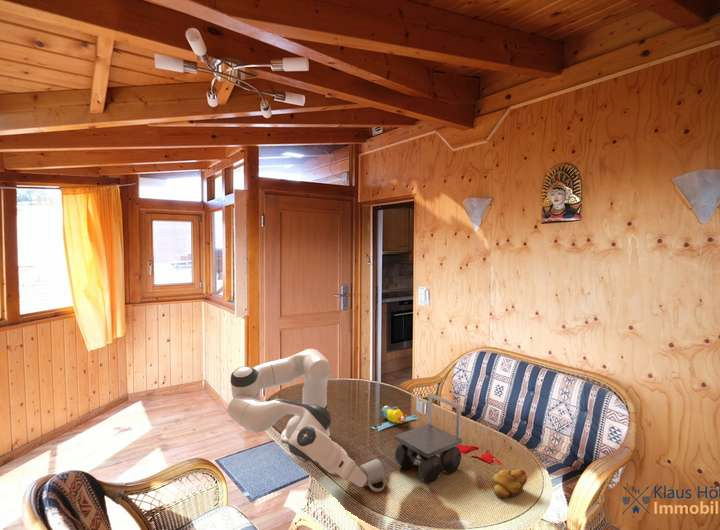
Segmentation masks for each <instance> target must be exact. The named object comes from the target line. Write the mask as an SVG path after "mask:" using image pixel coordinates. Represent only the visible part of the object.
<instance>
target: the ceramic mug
mask: <svg viewBox="0 0 720 530" xmlns="http://www.w3.org/2000/svg"><path fill="white" fill-rule="evenodd" d="M358 468H359V469H360V470H361V471H362V472H363V473H364V474H365V475H366V477H367V481H366V483H365V484H364V486H363V487H369V489H371V490H372V491H373V492H376V493H379V492H383V490H384V488H385V486H386V481H385V479H386V472H385V468H384V465H383V463H382V462H381V460H380V459H378V458H375V459H373V460H370V461H367V462H365V463H363V464H361V465H360V466H358ZM377 483H382V487H380V488H376V487H374V486H373V485H375V484H377Z"/></svg>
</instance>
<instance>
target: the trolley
mask: <svg viewBox="0 0 720 530" xmlns="http://www.w3.org/2000/svg"><path fill="white" fill-rule="evenodd" d="M427 399H428V406H427V407H428V410H427V412H428V413H427V415H428V416H427V417H428V420H427V423H426V424H423V425H421V426H418V427H414V428H412V429H409V430H406V431H404V432H401V433H399V434H396V435H394V441H396V442H398V443H399V444H398V445H397V447H396V450H395V453H394V462H395V463H396V464H397V466H399V467H401V468H403V469H409V468H410V467H412V465H413V464H414V463H415V462H416V463H418V469H417V470H418V476H419V478H420V479H421V480H422V482H425V484H433V483H435V482H436V481H437V480H438V478H439V477H440V475H441V473H442V471H443V472H445V473H447V474H449V475H451V474H454V473H455V472H456V471H457V470H458V469H459V466H460V464H461V461H462V454H461V452H460V450H459V448H457V447H455V446H458V445H463V439H462V434H461V433H462V429H461V428H462V405H461V404H460V403H457V402H454V401H452V400H449V399H446V398H444V397H441V396H440V395H439V396H438V395H436V394H433V393H428V396H427ZM433 400H435V401H438V402H440V403H444V404H445V405H449V406H451V407H454V408H456V414H455V415H456V417H455V418H456V419H455V420H456V424H455V426H456V428H455V429H456V430H455V431H456V433H455V435H454V434H452V433H449V432H447V431H445V430H443V429H441V428H439V427H437V426H434V425H433ZM418 457H419V458H421V459H419V458H418Z"/></svg>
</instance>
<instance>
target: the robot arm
mask: <svg viewBox="0 0 720 530" xmlns="http://www.w3.org/2000/svg"><path fill="white" fill-rule="evenodd" d="M331 368H332V367H331V364H330V361H329V360H328V358H326V357H325V356H324V354H322V353H321V352H320V351H319V350H318V349H315V348H306V349H304V350H302V351H301V352H298V353H296V354H293V355H291V356H288V357H283V358H280V359H276V360H272V361H267V362H264V363H261V364H257V365H256V366H253V367H251V366H246V365H245V366H239V367H237V368H236V369H234V370H233V372H232V373H231V374H230V381H229V383H230V386H231V388H230V389H231V396H232V399H231V400H230V401H229V403H228V406H227V414H228V416H229V418H230V420H232V421H233V422H235V423H236V424H237V425H239V426H240V427H242V428H243V429H245V430H247V431H249V432H252V433H256V434H258V433H263V432H266V431H267V430H269V429H271V427H273V426H274V425H275V424H276V423H277V422H279V420H280V419H282V418H283V417H284V416H287V415H293V416H292V417H291V418H290V419H289V420H288V422H287V423H286V427H285V428H284V430H282V432H281V435H280V441H281V442H283V443H284V442H285V443H287V446H288V451H289V452H290V453H291V454H292V455H294V456H295V457H296V458H298V459H299V460H300V461H302V462H303V463H308V462H313V461H314V462H317V463H318V465H319V466H321V468H322V469H323V470H325V471H326V472H328V473H330V474H332V475H335V476H337V477H339V478H341V479H343V480H344V481H345V480H347V481H349V482H350V483H352V484H354V485H355V486H357V487H360V488H363V487H365V486H364V484H365V483H366V481H367V477H366V475H365V474H364V473H363V472H362V471H361V470H360V469H359V466H357V465H356V461H355V460H353V459H352V458H351V457H350V455H349V454H348V453H347V450H345V449H344V448H343V447H342V446H341V445H339V444H338V443H337V442H335V441H333V440H332V439H331V432H330V426H331V424H332V416H331V413H330V411H329V407H328V403H327V401H328V400H327V396H328V395H327V394H328V392H327V391H328V389H327V388H328V382H329V377H330V374H331ZM303 376H304V383H303V387H302V402H298V401H293V400H289V399H286V398H285V399H284V398H277V397H274V398H273V399H271V400H267V401H262V400H261V390H265V389H271V388H274V387H278V386H282V385H286V384H290V383H291V384H292V383H293V382H294V381H295V380H297V379H300V378H301V377H303ZM329 436H330V437H329Z"/></svg>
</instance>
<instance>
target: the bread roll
mask: <svg viewBox="0 0 720 530" xmlns="http://www.w3.org/2000/svg"><path fill="white" fill-rule="evenodd" d="M527 481H528V475H527V473H526V471H525V470H524V469H520V468H518V469H513V470H511V469H501V470H500V471H499V472H498V473H496V474H494V475H493V477H492V486H493V493H494V494H495V496H497V497H499V498H503V499H506V498H508V497H510V496H517V495H519V494H521V492H522V491H523V488H524V486H525V485H526V483H527Z"/></svg>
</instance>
